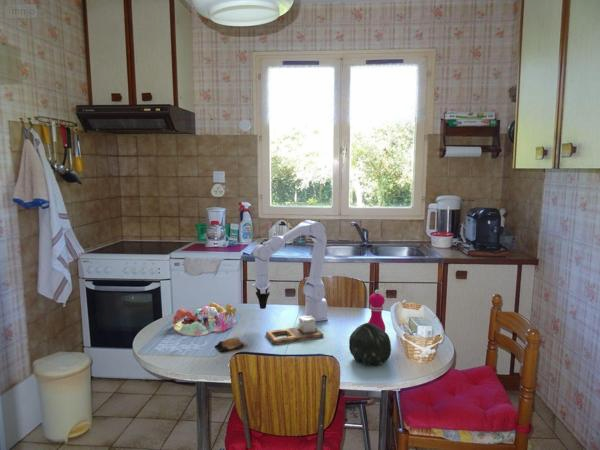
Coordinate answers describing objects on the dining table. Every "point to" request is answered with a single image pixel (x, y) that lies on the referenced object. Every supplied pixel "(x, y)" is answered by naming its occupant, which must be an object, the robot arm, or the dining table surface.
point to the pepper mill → (377, 309)
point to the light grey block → (306, 325)
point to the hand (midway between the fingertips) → (262, 305)
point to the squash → (370, 344)
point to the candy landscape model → (205, 320)
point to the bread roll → (230, 345)
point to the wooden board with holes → (291, 335)
